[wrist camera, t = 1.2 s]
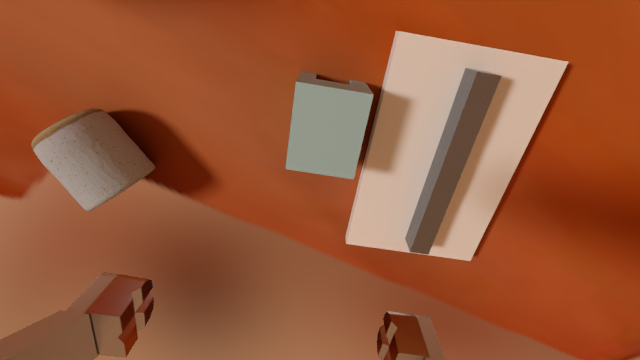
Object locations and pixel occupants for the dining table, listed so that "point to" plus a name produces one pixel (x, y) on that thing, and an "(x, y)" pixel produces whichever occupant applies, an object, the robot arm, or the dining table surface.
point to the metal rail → (451, 156)
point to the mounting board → (426, 130)
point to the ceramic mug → (91, 157)
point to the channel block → (327, 126)
